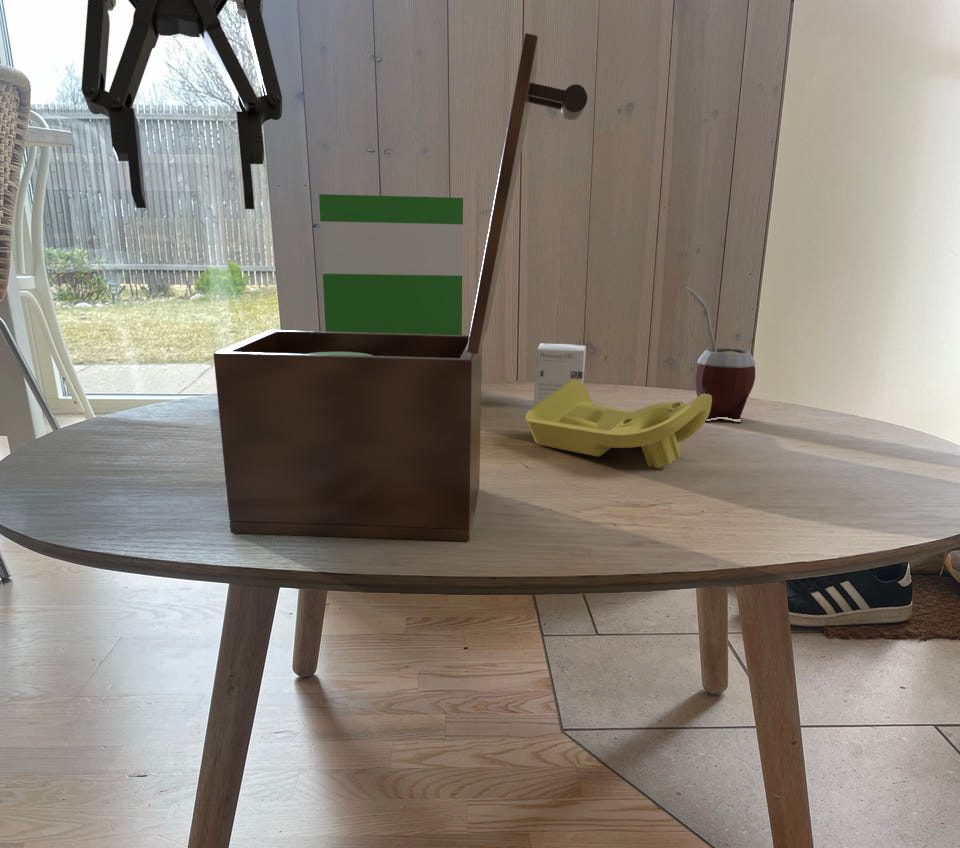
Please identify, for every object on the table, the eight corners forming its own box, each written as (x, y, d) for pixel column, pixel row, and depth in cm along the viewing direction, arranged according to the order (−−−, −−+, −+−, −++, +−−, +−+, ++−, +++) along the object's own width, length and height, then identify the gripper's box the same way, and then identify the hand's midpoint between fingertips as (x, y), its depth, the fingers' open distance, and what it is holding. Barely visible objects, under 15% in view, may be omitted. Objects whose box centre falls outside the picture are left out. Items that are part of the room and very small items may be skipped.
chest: (230, 533, 69) (212, 353, 63) (279, 481, 82) (268, 329, 77) (469, 541, 68) (472, 360, 63) (479, 488, 81) (482, 335, 76)
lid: (525, 32, 55) (600, 49, 55) (526, 69, 68) (586, 83, 68) (466, 352, 62) (532, 366, 63) (477, 328, 76) (532, 340, 76)
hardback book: (328, 395, 122) (319, 194, 112) (330, 386, 129) (321, 195, 119) (460, 395, 124) (463, 197, 114) (456, 386, 131) (457, 198, 121)
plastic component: (516, 419, 97) (583, 370, 101) (540, 478, 101) (604, 430, 105) (646, 441, 82) (720, 383, 85) (668, 509, 86) (739, 452, 89)
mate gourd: (759, 420, 113) (779, 288, 106) (722, 427, 108) (740, 291, 102) (708, 410, 118) (724, 284, 111) (670, 417, 113) (684, 286, 107)
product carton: (533, 408, 116) (535, 347, 113) (536, 400, 122) (539, 342, 119) (581, 410, 116) (585, 349, 113) (582, 402, 121) (586, 343, 118)
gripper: (299, -50, 79) (322, 221, 80) (39, -68, 75) (67, 219, 76) (301, -117, 72) (326, 182, 73) (13, -142, 67) (45, 177, 68)
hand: (194, 201), depth 74 cm, fingers open, 8 cm apart
